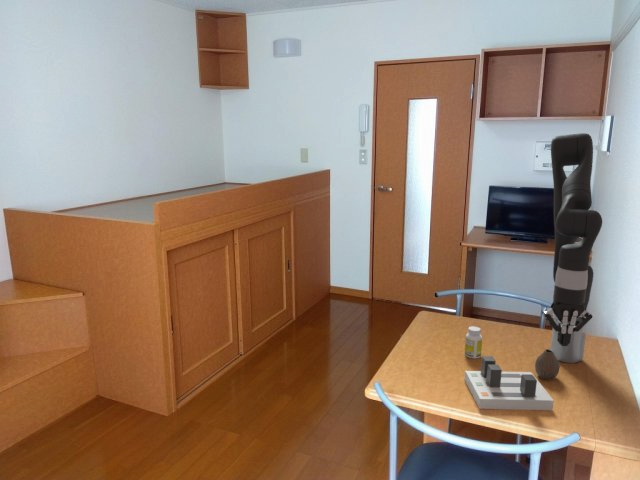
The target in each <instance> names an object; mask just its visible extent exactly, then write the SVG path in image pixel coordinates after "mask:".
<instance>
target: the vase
mask: <svg viewBox="0 0 640 480" xmlns="http://www.w3.org/2000/svg"><path fill="white" fill-rule="evenodd" d="M534 368H535V373H536V375H537V376H538V377H539V378H540V379H543V380H547V381H549V380H550V381H551V380H554V379H555V378H556V377H557V376H558V375H559V372H560V361H559V360H558V359H557V358H556V356H555V355H554V353H553V351H552V350H550V348H548V349H544V351H543V352H542V353H540V355H538V356H537V357H536V359H535V362H534Z"/></svg>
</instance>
